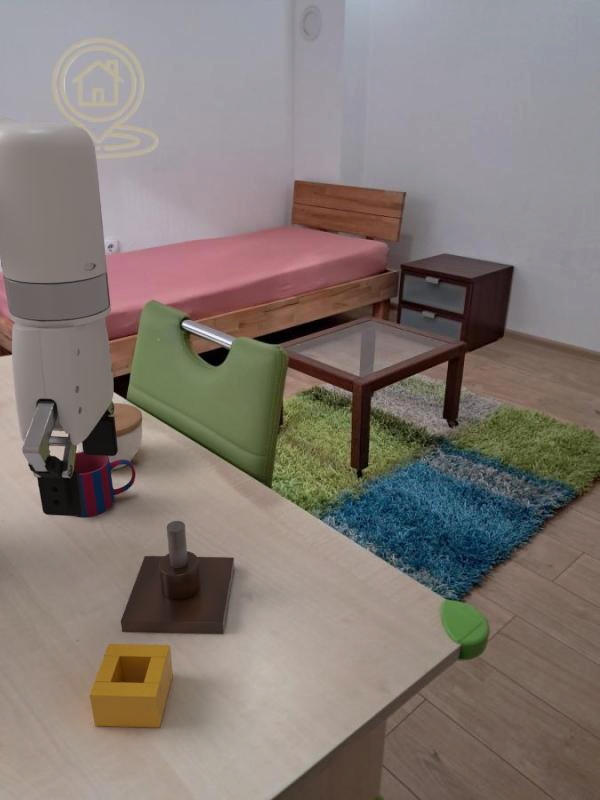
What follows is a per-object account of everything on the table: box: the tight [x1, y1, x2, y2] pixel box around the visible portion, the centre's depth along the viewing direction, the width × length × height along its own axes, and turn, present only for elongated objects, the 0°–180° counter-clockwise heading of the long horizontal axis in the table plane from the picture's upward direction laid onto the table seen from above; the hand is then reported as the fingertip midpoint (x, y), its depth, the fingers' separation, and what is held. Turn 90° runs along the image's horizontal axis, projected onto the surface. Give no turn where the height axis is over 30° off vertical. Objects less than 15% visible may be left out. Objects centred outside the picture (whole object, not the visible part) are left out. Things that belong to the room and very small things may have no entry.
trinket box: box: [76, 402, 143, 471], centre depth 100 cm, size 11×11×9 cm
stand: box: [120, 520, 235, 634], centre depth 71 cm, size 11×11×10 cm
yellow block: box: [89, 643, 174, 728], centre depth 60 cm, size 6×6×4 cm
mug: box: [61, 451, 137, 518], centre depth 89 cm, size 7×10×7 cm
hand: (83, 481), depth 57 cm, fingers open, 9 cm apart
